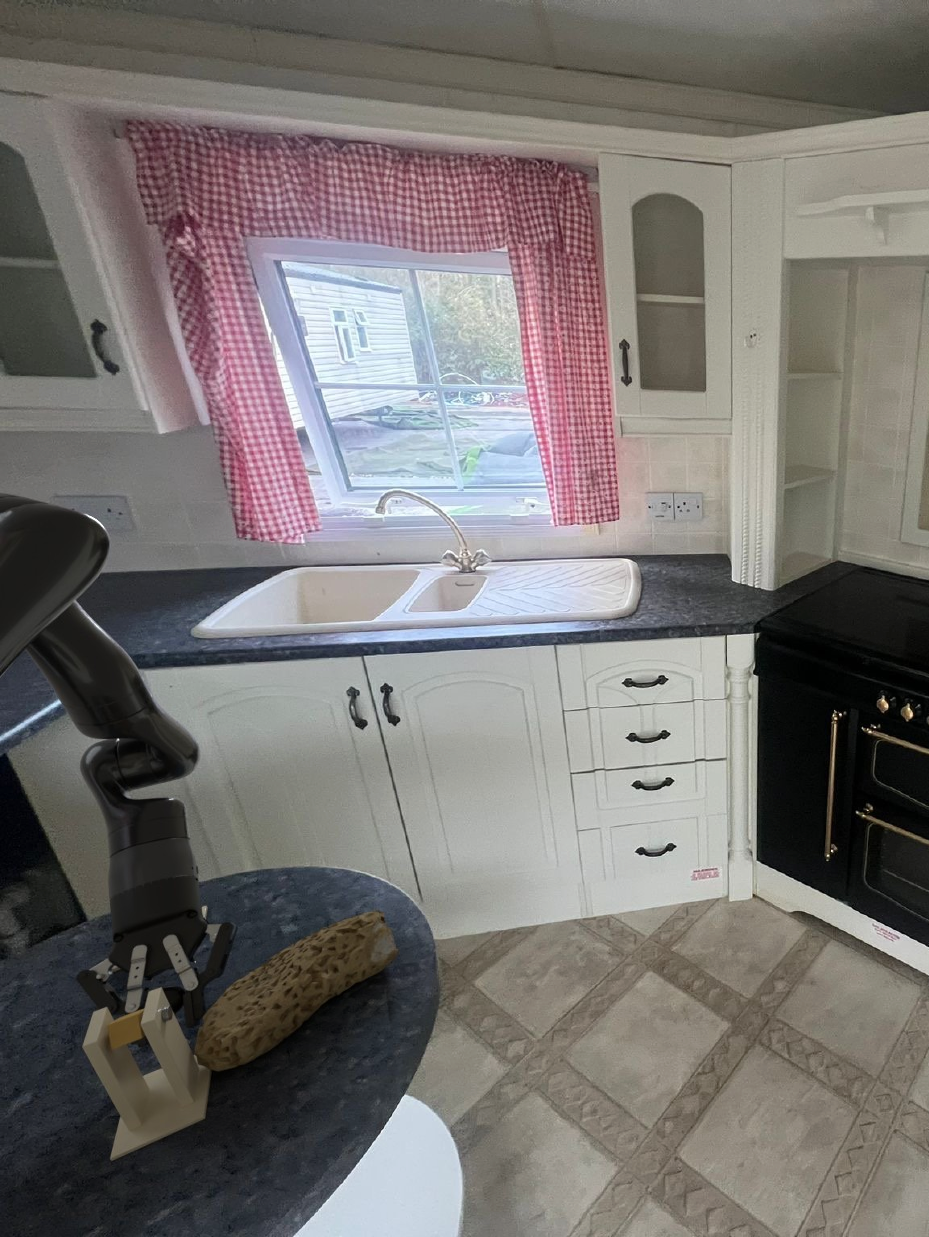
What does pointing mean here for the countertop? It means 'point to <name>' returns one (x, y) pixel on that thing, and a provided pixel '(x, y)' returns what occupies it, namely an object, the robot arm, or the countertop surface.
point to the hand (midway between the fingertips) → (170, 1035)
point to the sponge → (292, 989)
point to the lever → (130, 1024)
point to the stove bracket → (149, 1077)
